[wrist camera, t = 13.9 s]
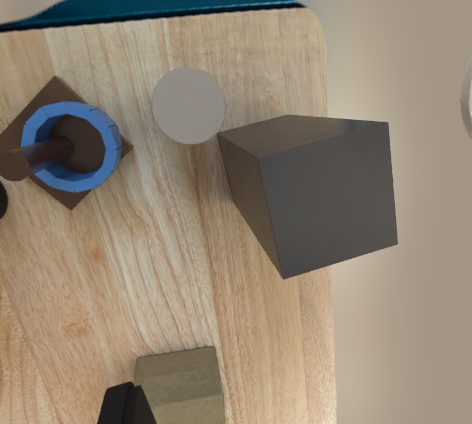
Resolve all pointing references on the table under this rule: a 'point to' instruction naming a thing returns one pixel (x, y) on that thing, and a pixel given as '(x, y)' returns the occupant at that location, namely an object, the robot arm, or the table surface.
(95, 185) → the ring
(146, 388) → the tissue box
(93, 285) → the table surface
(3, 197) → the beverage can
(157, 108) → the container
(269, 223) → the pedestal
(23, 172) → the stand
